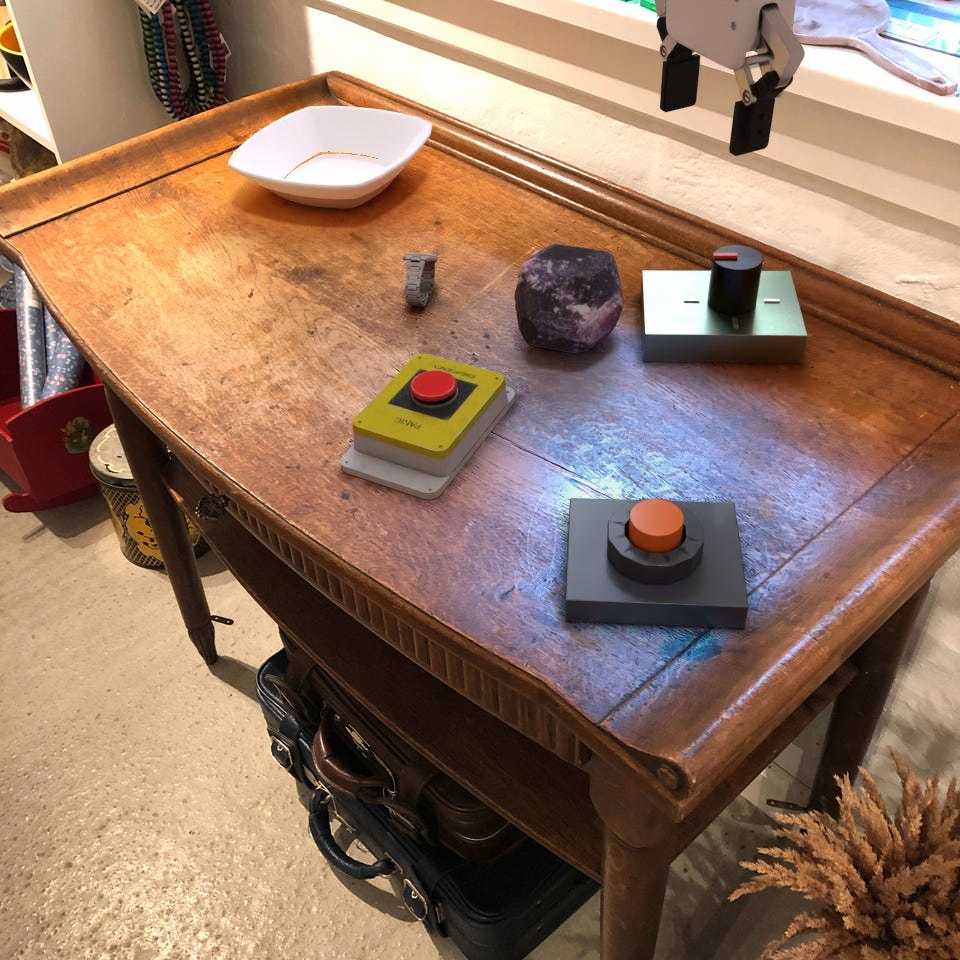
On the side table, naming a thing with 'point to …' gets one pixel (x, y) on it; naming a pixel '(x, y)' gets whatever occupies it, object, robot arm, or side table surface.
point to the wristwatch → (419, 278)
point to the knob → (734, 279)
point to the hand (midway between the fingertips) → (711, 128)
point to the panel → (719, 321)
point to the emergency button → (426, 425)
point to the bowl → (331, 174)
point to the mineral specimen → (568, 297)
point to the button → (656, 526)
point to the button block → (655, 568)
